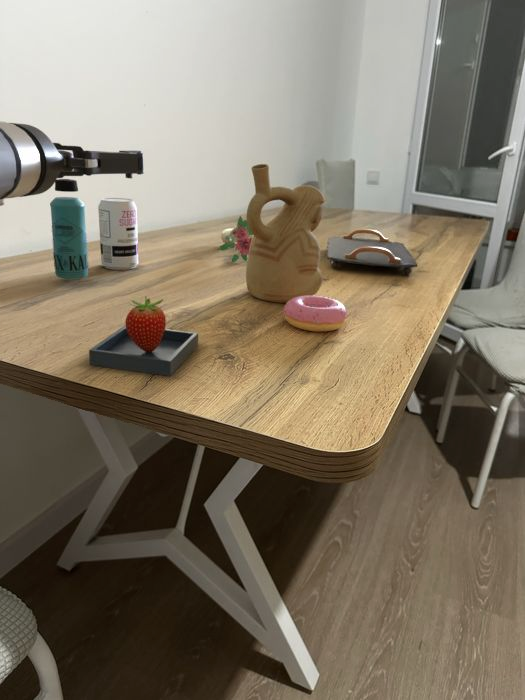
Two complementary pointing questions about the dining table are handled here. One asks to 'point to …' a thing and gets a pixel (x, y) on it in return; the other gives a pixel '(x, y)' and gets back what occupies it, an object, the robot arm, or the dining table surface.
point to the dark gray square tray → (144, 352)
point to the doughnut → (315, 313)
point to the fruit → (146, 325)
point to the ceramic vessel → (283, 241)
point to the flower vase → (237, 239)
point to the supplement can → (118, 233)
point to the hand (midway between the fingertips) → (93, 157)
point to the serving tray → (369, 251)
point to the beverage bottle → (69, 233)
